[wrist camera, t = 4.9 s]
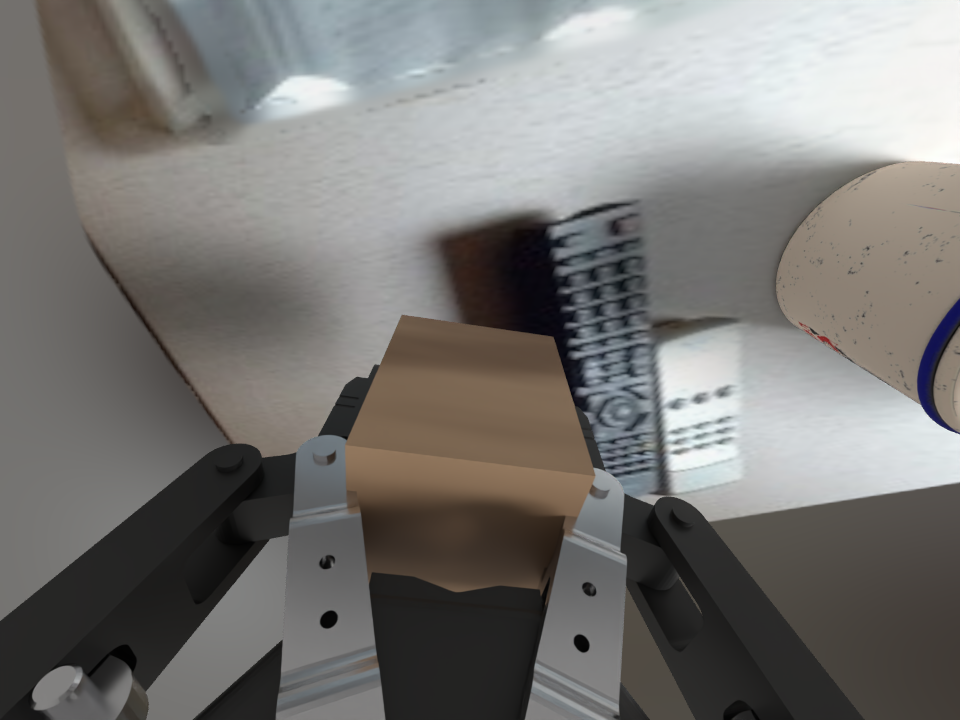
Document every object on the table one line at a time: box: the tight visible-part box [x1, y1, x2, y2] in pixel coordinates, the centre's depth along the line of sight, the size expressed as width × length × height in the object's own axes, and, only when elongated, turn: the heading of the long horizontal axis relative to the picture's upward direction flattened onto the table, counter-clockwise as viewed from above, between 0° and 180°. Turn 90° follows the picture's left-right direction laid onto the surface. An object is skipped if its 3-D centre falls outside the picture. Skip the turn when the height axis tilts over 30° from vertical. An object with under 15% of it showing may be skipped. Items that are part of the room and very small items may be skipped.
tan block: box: [345, 315, 596, 592], centre depth 12 cm, size 5×5×6 cm
